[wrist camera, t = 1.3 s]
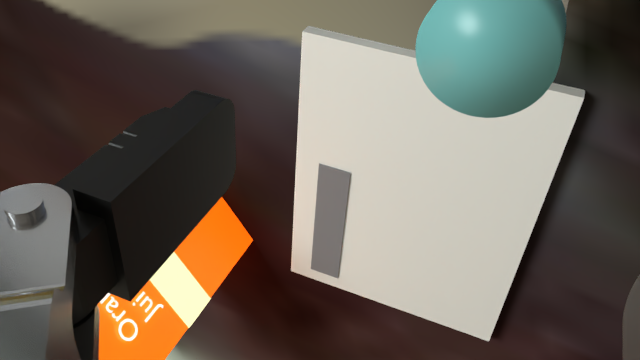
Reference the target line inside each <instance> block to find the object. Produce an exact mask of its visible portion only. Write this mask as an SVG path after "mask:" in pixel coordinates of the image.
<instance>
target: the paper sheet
mask: <svg viewBox="0 0 640 360" xmlns="http://www.w3.org/2000/svg"><path fill="white" fill-rule="evenodd" d="M584 96H585V90H582V89H577V88H573V87H569V86H564V85H560V84H556V83H552V84H551V86H550V87H549V89H548V90H547V91H546V92H545V94H544V95H543V96H542V97H541V98H540V99H538V100H537V101H536V102H535V103H533V104H532V105H531V106H529V107H527V108H526V109H524V110H522V111H519V112H517V113H514V114H511V115H508V116H503V117H496V118H482V117H475V116H469V115H466V114H463V113H460V112H458V111H456V110H453V109H452V108H450V107H448V106H447V105H445V104H444V103H442V102H441V101H440V100H439V99H438V98H436V97H435V96H434V95H433V94H432V92H431V91H430V90H429V89H428V87H427V86H426V84H425V83H424V81H423V79H422V77H421V75H420V72H419V69H418V66H417V61H416V51H414V50H410V49H406V48H401V47H397V46H393V45H389V44H384V43H380V42H376V41H371V40H367V39H363V38H359V37H354V36H350V35H346V34H341V33H337V32H333V31H328V30H324V29H320V28H316V27H311V26H308V27H307V28H306V29H305V30H304V31H303V32H302V50H301V71H300V92H299V113H298V134H297V155H296V176H295V197H294V218H293V239H292V260H291V271H293V272H295V273H298V274H301V275H304V276H307V277H309V278H312V279H315V280H318V281H321V282H324V283H326V284H329V285H332V286H335V287H338V288H340V289H343V290H346V291H349V292H352V293H354V294H357V295H360V296H363V297H366V298H368V299H371V300H374V301H377V302H380V303H383V304H385V305H388V306H391V307H394V308H397V309H399V310H402V311H405V312H408V313H411V314H413V315H416V316H419V317H422V318H425V319H428V320H430V321H433V322H436V323H439V324H442V325H444V326H447V327H450V328H453V329H456V330H458V331H461V332H464V333H467V334H470V335H472V336H475V337H478V338H481V339H484V340H487V341H489V340H490V337H491V335H492V332H493V330H494V327H495V325H496V322H497V320H498V317H499V314H500V312H501V309H502V307H503V304H504V302H505V299H506V297H507V294H508V291H509V289H510V286H511V284H512V281H513V279H514V276H515V274H516V271H517V268H518V266H519V263H520V261H521V258H522V256H523V253H524V251H525V248H526V246H527V243H528V240H529V238H530V235H531V233H532V230H533V228H534V225H535V223H536V220H537V217H538V215H539V212H540V210H541V207H542V205H543V202H544V200H545V197H546V194H547V192H548V189H549V187H550V184H551V182H552V179H553V177H554V174H555V171H556V169H557V166H558V164H559V161H560V159H561V156H562V154H563V151H564V149H565V146H566V143H567V141H568V138H569V136H570V133H571V131H572V128H573V126H574V123H575V120H576V118H577V115H578V113H579V110H580V108H581V105H582V103H583V100H584Z"/></svg>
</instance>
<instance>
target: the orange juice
mask: <svg viewBox="0 0 640 360" xmlns="http://www.w3.org/2000/svg"><path fill="white" fill-rule="evenodd" d="M252 241H253V239H252V238H251V237H250V235H249V234H248V232H247V231H246V230H245V228H244V227H243V225H242V224H241V223H240V221H239V220H238V219H237V217H236V216H235V214H234V213H233V212H232V210H231V209H230V207H229V206H228V205H227V203H226V202H225V200H224V199H223V198H222V197H221V198H220V199H219V201H218V202H217V203H216V204H215V205H214V206H213V207H212V209H211V210H210V211H209V212H208V213H207V214H206V216H205V217H204V218H203V219H202V220H201V221H200V222H199V224H198V225H197V226H196V227H195V228H194V229H193V230H192V232H191V233H190V234H189V235H188V236H187V237H186V239H185V240H184V241H183V242H182V243H181V244H180V245H179V247H178V248H177V249H176V250H175V251H174V252H173V253H172V255H171V256H170V257H169V258H168V259H167V260H166V262H165V263H164V264H163V265H162V266H161V267H160V268H159V270H158V271H157V272H156V273H155V274H154V275H153V276H152V278H151V279H150V280H149V281H148V282H147V283H146V285H145V286H144V287H143V288H142V289H141V290H140V291H139V293H138V294H137V295H136V296H135V297H134V298H133V300H132V301H131V302H130V301H127V300H125V299H122V298H120V297H117V296H115V295H112V294H110V293H108V294H107V295H106V296H105V297H104V298H103V299H102V300H101V301H100V302H99V303H98V307H99V312H100V326H99V360H165V359H166V357H167V356H168V354H169V353H170V352H171V350H172V349H173V348H174V346H175V345H176V344H177V342H178V341H179V340H180V338H181V337H182V336H183V334H184V333H185V332H186V330H187V329H188V328H190V326H191V325H192V324H193V322H194V321H195V320H196V318H197V317H198V315H199V314H200V313H201V311H202V310H203V309H204V307H205V306H206V305H207V303H208V302H209V301H210V299H211V296H212V295H213V294H214V292H215V291H216V290H217V288H218V287H219V286H220V284H221V283H222V282H223V280H224V279H225V278H226V276H227V275H228V274H229V272H230V271H231V269H232V268H233V267H234V265H235V264H236V263H237V261H238V260H239V259H240V257H241V256H242V255H243V253H244V252H245V251H246V249H247V248H248V247H249V245H250V244H251V243H252Z"/></svg>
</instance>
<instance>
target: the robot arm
mask: <svg viewBox="0 0 640 360" xmlns="http://www.w3.org/2000/svg"><path fill="white" fill-rule="evenodd" d="M235 168H236V147H235V112H234V105H233V103H232V101H231V100H229V99H226V98H222V97H219V96H215V95H211V94H208V93H204V92H201V91H197V90H194V91H191V92H190V93H189V94H187V95H186V96H185V97H184V98H182V99H181V100H180V101H179V102H178V103H176V104H175V105H174V106H173V107H171V108H167V107H164V108H162V109H159V110H157V111H154V112H152V113H149V114H147V115H144V116H142V117H140V118H139V119H138V120H136V121H135V122H134V123H133V124H131V125H130V126H129V127H127V128H126V129H125V130H124V131H123V134H119V135H117V136H116V137H115V138H114V139H112V140H111V141H110V142H109V145H108V146H107V145H105V146H103V147H102V148H101V149H100V150H98V151H97V152H96V153H94V154H93V155H92V156H91V157H89V158H88V159H87V160H86V161H84V162H83V163H82V164H81V165H79V166H78V167H77V168H75V169H74V170H73V171H72V172H70V173H69V174H68V175H67V176H65V177H64V178H63V179H61V180H60V181H59V182H58V183H56V184H55V185H50V184H43V183H33V184H25V185H20V186H16V187H13V188H10V189H7V190H5V191H3V192H0V360H99V326H100V312H99V307H98V303H99V302H100V301H101V300H102V299H103V298H104V297H105V296H106V295H107V294H108V293H110V294H112V295H115V296H117V297H120V298H122V299H125V300H127V301H130V302H131V301H132V300H133V298H134V297H135V296H136V295H137V294H138V293H139V291H140V290H141V289H142V288H143V287H144V286H145V285H146V283H147V282H148V281H149V280H150V279H151V278H152V276H153V275H154V274H155V273H156V272H157V271H158V270H159V268H160V267H161V266H162V265H163V264H164V263H165V262H166V260H167V259H168V258H169V257H170V256H171V255H172V253H173V252H174V251H175V250H176V249H177V248H178V247H179V245H180V244H181V243H182V242H183V241H184V240H185V239H186V237H187V236H188V235H189V234H190V233H191V232H192V230H193V229H194V228H195V227H196V226H197V225H198V224H199V222H200V221H201V220H202V219H203V218H204V217H205V216H206V214H207V213H208V212H209V211H210V210H211V209H212V207H213V206H214V205H215V204H216V203H217V202H218V201H219V199H220V198H221V197H222V196H223V195H224V194H225V192H226V191H227V190H228V188H229V186H230V184H231V182H232V180H233V177H234V173H235ZM623 360H640V275H639V276H638V278H637V280H636V281H635V283H634V285H633V287H632V289H631V291H630V293H629V296H628V298H627V301H626V305H625V309H624V314H623Z"/></svg>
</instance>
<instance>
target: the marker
mask: <svg viewBox="0 0 640 360" xmlns="http://www.w3.org/2000/svg"><path fill="white" fill-rule="evenodd" d="M568 2H569V0H437V1H436V3H435V4H434V5H433V7H432V8H431V10H430V11H429V12H428V14H427V16H426V17H425V19H424V20H423V22H422V24H421V26H420V29H419V31H418V36H417V40H416V61H417V66H418V69H419V72H420V75H421V77H422V79H423V81H424V83H425V84H426V86H427V87H428V89H429V90H430V91H431V92H432V94H433V95H434V96H435V97H436V98H438V99H439V100H440V101H441V102H442V103H444V104H445V105H447V106H448V107H450V108H452V109H453V110H456V111H458V112H460V113H463V114H466V115H469V116H475V117H482V118H496V117H503V116H508V115H511V114H514V113H517V112H519V111H522V110H524V109H526V108H527V107H529V106H531V105H532V104H533V103H535V102H536V101H537V100H538V99H540V98H541V97H542V96H543V95H544V94H545V92H546V91H547V90H548V89H549V87H550V86H551V84H552V82H553V81H554V79H555V76H556V74H557V71H558V68H559V64H560V59H561V54H562V49H563V44H564V39H565V34H566V11H567V6H568Z"/></svg>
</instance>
